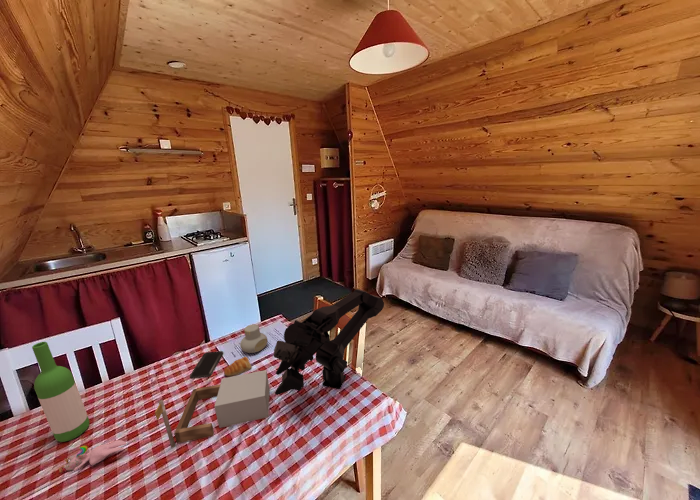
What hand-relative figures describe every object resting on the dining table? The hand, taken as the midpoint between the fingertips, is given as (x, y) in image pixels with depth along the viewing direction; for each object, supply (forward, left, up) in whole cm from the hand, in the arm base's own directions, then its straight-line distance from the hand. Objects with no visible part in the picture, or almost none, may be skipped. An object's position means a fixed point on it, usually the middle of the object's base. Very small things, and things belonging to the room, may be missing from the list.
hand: (276, 383), depth 94 cm
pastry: (+23, -10, -7) cm, 26 cm away
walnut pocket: (+19, +13, -7) cm, 24 cm away
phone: (+38, -9, -7) cm, 39 cm away
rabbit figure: (+37, +31, -7) cm, 49 cm away
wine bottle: (+54, +27, -7) cm, 61 cm away
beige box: (+9, +5, -7) cm, 12 cm away
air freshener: (+26, -23, -7) cm, 35 cm away
